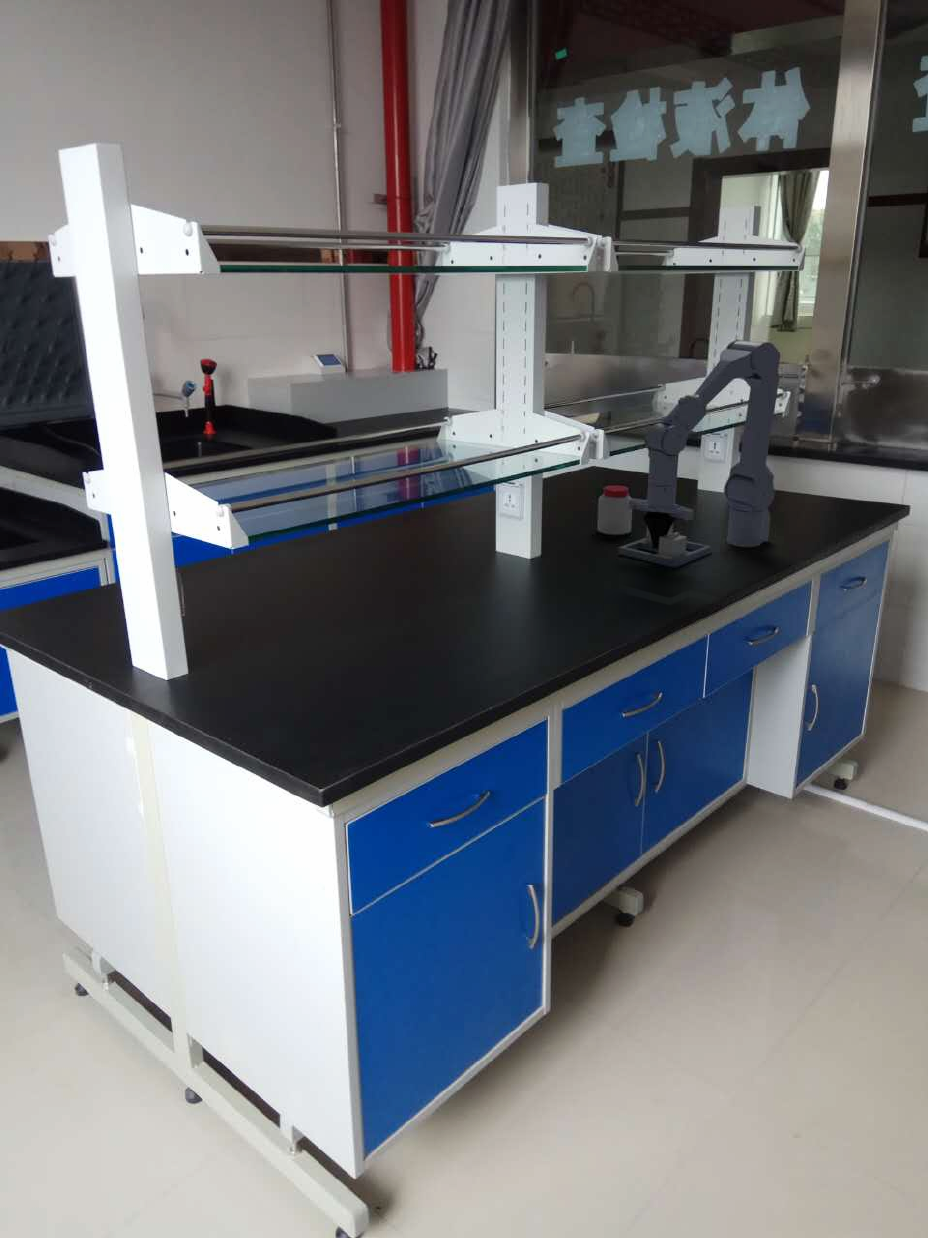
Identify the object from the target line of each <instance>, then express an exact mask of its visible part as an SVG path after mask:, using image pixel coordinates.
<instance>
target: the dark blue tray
mask: <svg viewBox="0 0 928 1238" xmlns="http://www.w3.org/2000/svg"><path fill="white" fill-rule="evenodd" d="M712 548H713V546H710V545H708V544H707V545H706V544H702V543H697V542H693V541H688V540H687V542H686V554H685V555H682V556H680V557H677V558H675V559H673V557H669V556H664V555H660V554H658V552H659V549H655V548H653V546H652V543H649V542H646V537H645V538H641V539H639V540H637V541H633V542H631V543H628V544H625V545H621V546H620V547H618V555H621V556H627V557H629V558H634V559H638V560H643V561H646V562H650V563H655V564H659V565H663V566H667V567H671V568H678V567H680V566H682V565H685V564H688V563H690V562H692V561H695V560H698V559H700V558H702V557H705V556H707V555H710V554H712V550H713V549H712ZM639 549H640V550H639ZM643 550H645V551H643ZM647 551H649V552H647ZM652 552H654V553H652Z"/></svg>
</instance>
